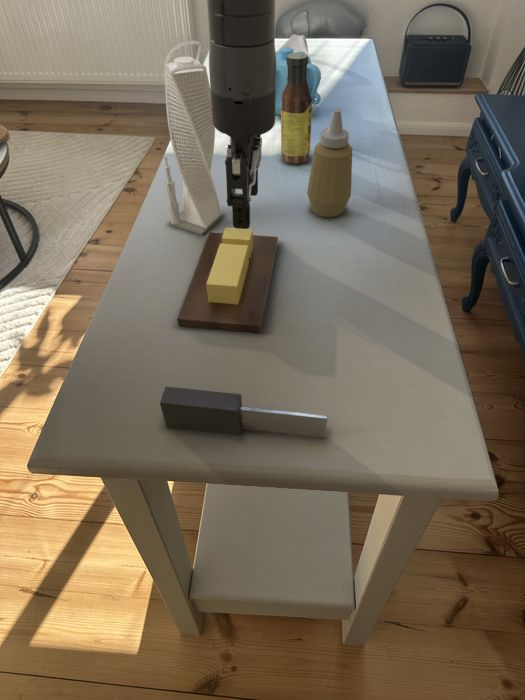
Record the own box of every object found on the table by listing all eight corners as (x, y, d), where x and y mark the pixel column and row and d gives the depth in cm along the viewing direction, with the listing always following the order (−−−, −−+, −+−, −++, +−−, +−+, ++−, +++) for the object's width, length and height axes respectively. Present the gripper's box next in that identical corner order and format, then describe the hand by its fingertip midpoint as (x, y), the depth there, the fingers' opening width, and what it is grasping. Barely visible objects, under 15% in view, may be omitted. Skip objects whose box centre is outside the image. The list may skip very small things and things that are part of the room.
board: (178, 326, 70) (176, 318, 69) (210, 239, 85) (209, 231, 84) (260, 333, 69) (259, 326, 68) (277, 243, 84) (278, 236, 82)
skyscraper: (195, 203, 93) (174, 35, 72) (231, 213, 90) (220, 42, 70) (169, 225, 88) (139, 51, 67) (207, 236, 85) (187, 59, 65)
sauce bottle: (313, 163, 103) (320, 59, 89) (285, 167, 102) (288, 63, 88) (303, 150, 108) (308, 49, 93) (276, 154, 107) (277, 52, 92)
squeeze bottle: (343, 224, 87) (357, 123, 74) (300, 217, 89) (306, 116, 76) (353, 202, 92) (366, 103, 79) (312, 195, 94) (319, 98, 81)
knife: (166, 427, 58) (159, 402, 55) (171, 411, 60) (165, 386, 56) (324, 445, 56) (327, 420, 53) (325, 427, 58) (328, 403, 54)
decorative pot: (322, 120, 119) (327, 58, 109) (257, 123, 117) (256, 61, 107) (310, 95, 130) (314, 37, 120) (251, 98, 128) (249, 39, 118)
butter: (208, 302, 71) (206, 283, 69) (221, 261, 78) (220, 243, 75) (238, 304, 71) (237, 286, 68) (249, 263, 77) (248, 245, 75)
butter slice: (223, 256, 79) (221, 238, 76) (226, 245, 81) (225, 227, 78) (250, 258, 78) (249, 240, 76) (253, 247, 80) (252, 229, 78)
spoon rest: (305, 83, 136) (307, 54, 130) (264, 80, 138) (264, 52, 132) (318, 56, 151) (319, 30, 146) (281, 54, 153) (281, 28, 148)
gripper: (221, 62, 60) (227, 183, 72) (198, 105, 50) (209, 237, 62) (281, 64, 60) (277, 186, 71) (269, 109, 50) (267, 241, 62)
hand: (246, 210), depth 67 cm, fingers open, 8 cm apart
